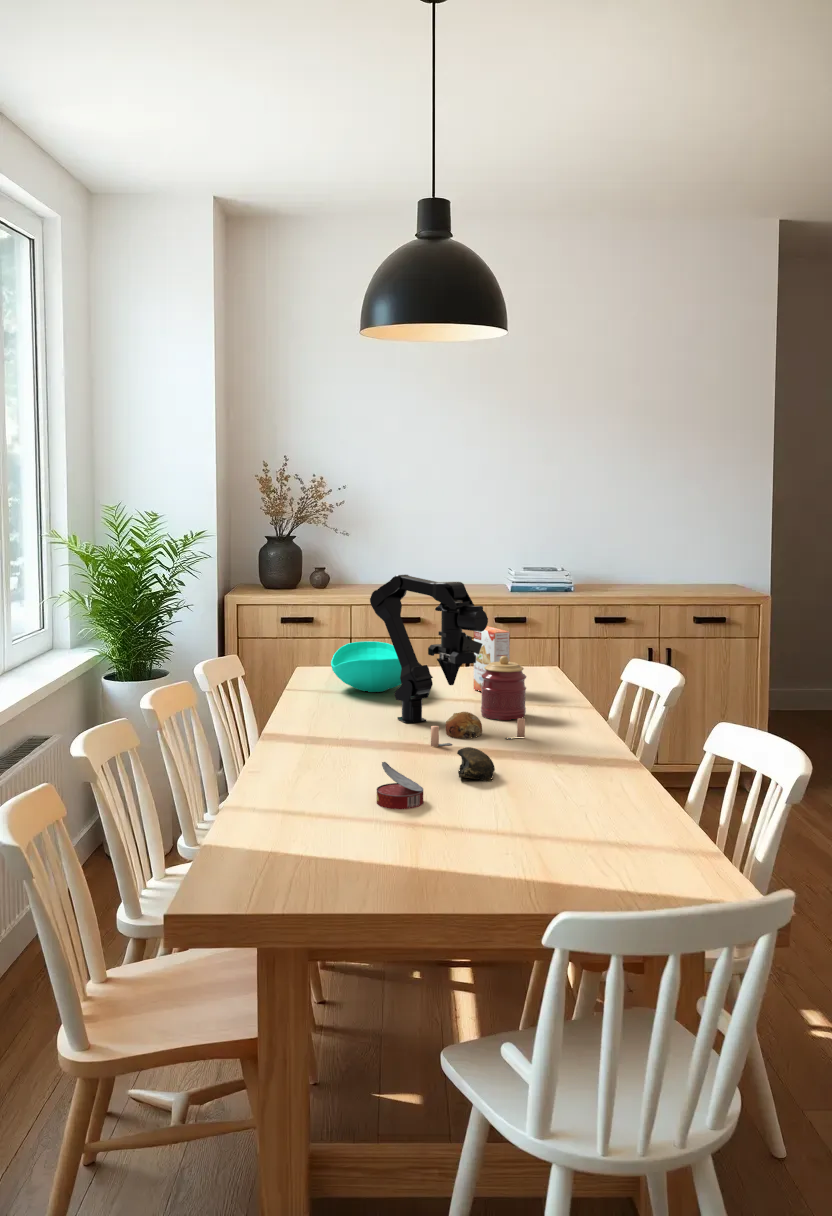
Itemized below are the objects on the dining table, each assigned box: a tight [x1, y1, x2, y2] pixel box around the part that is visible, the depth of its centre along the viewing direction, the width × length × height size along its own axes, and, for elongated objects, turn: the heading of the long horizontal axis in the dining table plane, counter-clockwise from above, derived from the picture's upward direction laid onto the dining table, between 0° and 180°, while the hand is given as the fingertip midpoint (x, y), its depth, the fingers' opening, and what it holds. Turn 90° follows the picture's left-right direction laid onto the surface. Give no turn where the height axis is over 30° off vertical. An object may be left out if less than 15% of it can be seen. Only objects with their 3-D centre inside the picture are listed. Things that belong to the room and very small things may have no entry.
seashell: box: [456, 747, 496, 782], centre depth 250 cm, size 16×9×7 cm, turn 1°
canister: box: [480, 656, 527, 721], centre depth 315 cm, size 13×13×18 cm
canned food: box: [376, 761, 424, 810], centre depth 229 cm, size 11×10×10 cm
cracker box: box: [473, 625, 511, 693], centre depth 351 cm, size 14×6×21 cm, turn 25°
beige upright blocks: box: [430, 717, 526, 747], centre depth 284 cm, size 2×27×5 cm, turn 114°
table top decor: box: [330, 641, 402, 693], centre depth 354 cm, size 40×28×13 cm
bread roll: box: [445, 711, 483, 739], centre depth 293 cm, size 10×10×8 cm
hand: (451, 685), depth 299 cm, fingers closed
